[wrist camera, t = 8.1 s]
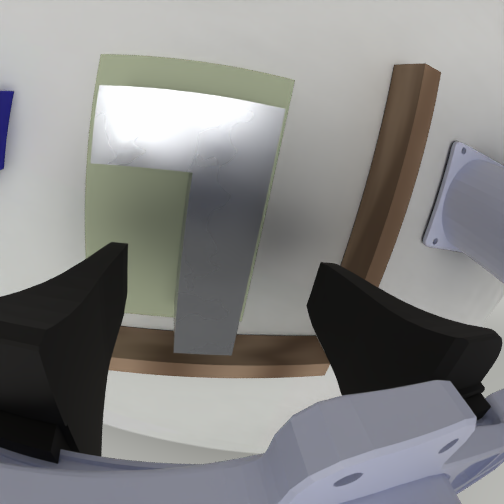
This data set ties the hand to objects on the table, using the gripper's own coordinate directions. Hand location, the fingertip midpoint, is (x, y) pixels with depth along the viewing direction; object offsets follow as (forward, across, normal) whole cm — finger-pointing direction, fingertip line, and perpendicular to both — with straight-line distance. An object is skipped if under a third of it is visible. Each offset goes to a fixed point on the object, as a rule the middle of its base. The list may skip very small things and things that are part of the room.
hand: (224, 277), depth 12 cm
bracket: (+6, +2, 0) cm, 7 cm away
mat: (+7, +2, 0) cm, 7 cm away
